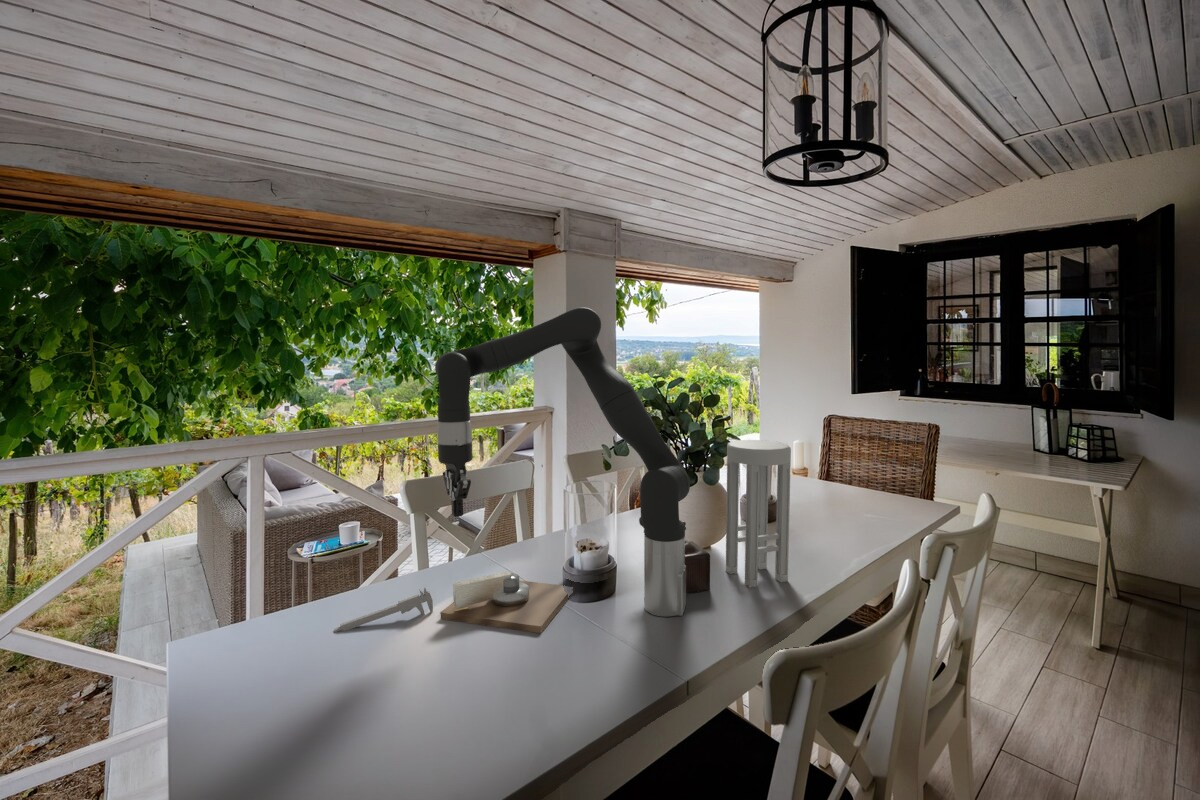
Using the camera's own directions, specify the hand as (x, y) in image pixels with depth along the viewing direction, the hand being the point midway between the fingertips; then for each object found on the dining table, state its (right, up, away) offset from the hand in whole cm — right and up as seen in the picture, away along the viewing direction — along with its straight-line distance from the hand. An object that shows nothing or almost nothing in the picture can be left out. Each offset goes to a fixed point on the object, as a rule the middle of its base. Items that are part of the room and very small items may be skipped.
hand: (457, 515), depth 130 cm
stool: (+74, -20, +19) cm, 79 cm away
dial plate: (+12, -22, +3) cm, 25 cm away
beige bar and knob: (+8, -20, +1) cm, 21 cm away
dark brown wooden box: (+51, -21, +14) cm, 57 cm away
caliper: (-15, -23, -4) cm, 28 cm away
